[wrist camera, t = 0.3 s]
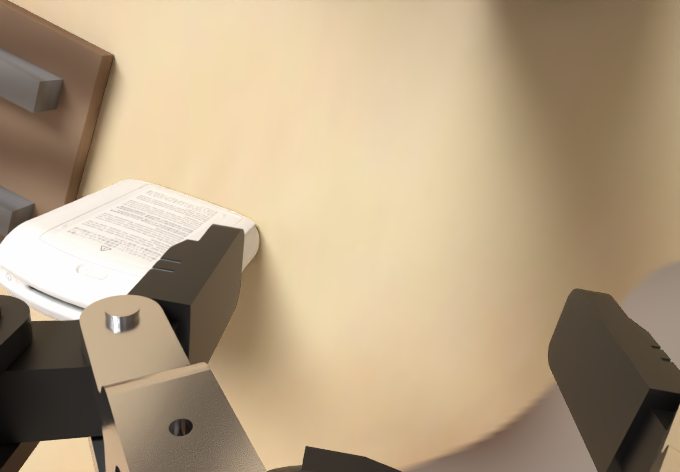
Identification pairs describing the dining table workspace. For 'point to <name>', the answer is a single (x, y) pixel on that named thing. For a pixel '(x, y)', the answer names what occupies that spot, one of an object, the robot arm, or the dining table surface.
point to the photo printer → (105, 244)
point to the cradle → (44, 113)
